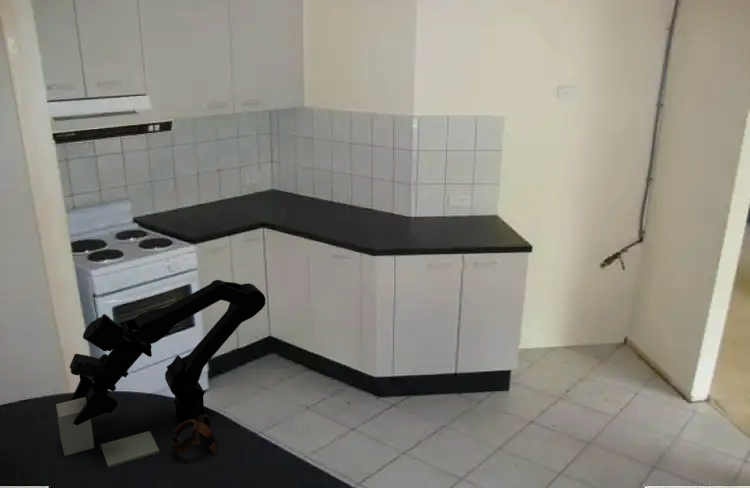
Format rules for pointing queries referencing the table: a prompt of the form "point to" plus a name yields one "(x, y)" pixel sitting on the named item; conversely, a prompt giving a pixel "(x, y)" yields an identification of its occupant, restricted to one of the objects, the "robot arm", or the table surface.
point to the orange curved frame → (194, 434)
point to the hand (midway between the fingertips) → (72, 414)
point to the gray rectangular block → (74, 427)
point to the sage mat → (129, 449)
